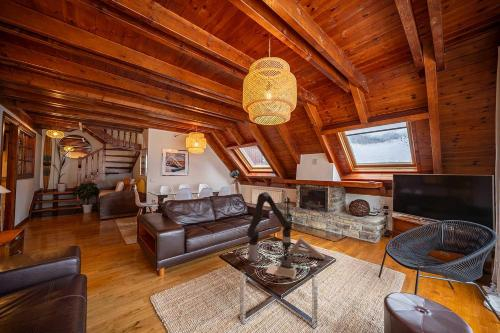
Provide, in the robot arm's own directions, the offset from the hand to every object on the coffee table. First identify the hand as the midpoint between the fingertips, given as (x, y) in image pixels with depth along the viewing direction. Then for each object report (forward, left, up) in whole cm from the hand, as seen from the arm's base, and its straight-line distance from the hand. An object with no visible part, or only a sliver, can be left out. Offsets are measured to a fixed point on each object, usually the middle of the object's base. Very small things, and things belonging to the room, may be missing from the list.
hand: (286, 258), depth 178 cm
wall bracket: (+14, +39, -15) cm, 44 cm away
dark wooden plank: (0, 0, -13) cm, 13 cm away
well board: (-5, 0, -14) cm, 15 cm away
